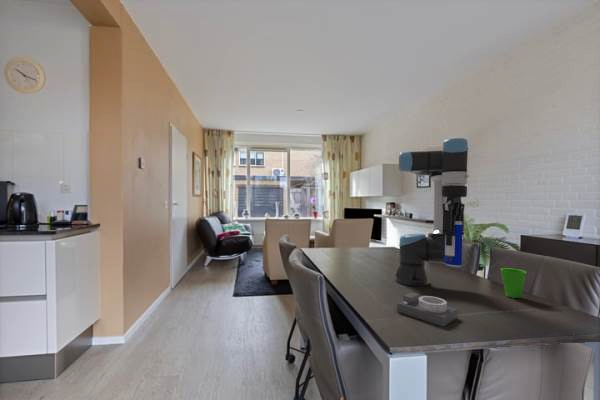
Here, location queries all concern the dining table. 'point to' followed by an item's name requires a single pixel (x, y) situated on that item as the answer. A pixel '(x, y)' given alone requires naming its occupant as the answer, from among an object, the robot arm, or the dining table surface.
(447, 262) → the beverage can
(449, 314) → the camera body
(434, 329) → the dining table surface
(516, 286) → the cup
